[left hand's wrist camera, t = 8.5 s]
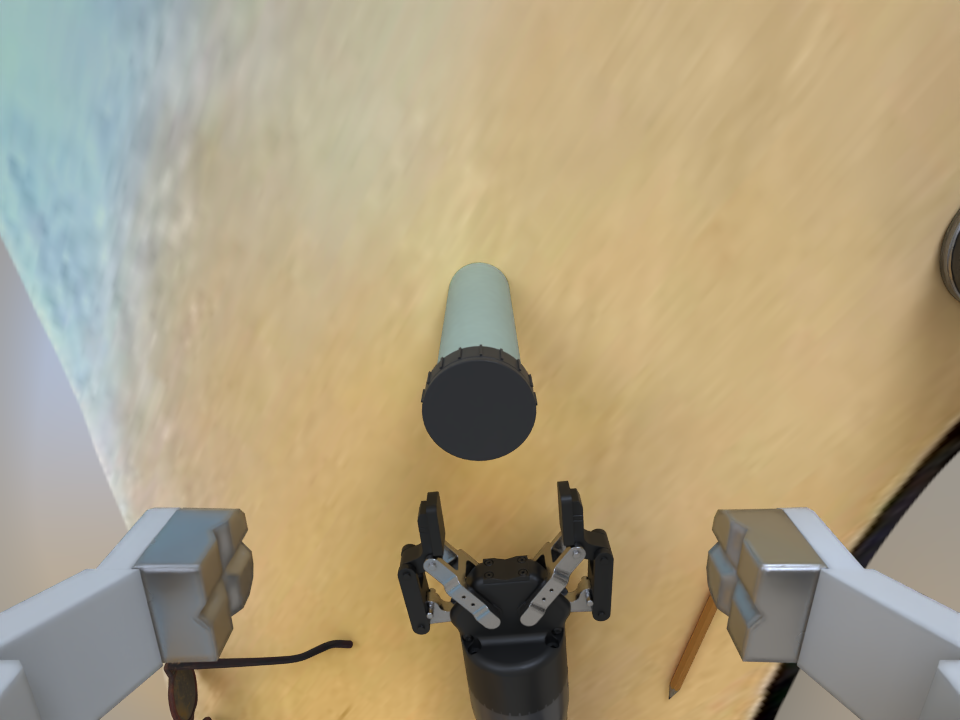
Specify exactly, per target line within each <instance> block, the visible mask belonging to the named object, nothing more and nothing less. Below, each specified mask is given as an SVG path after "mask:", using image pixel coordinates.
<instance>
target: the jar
mask: <svg viewBox="0 0 960 720" xmlns="http://www.w3.org/2000/svg"><path fill="white" fill-rule="evenodd" d="M480 344H482V346H487V347H492V348H496V349H499V350H500V348H501V349H503V351H504V352H506V353H508V354H510V355H511V356H513V357H514V358H515V359H519V360H520V354H519V348H518V341H517V335H516V328H515V322H514V315H513V309H512V302H511V296H510V289H509V284H508V281H507V279H506V277H505V276H504V274H503V273H502V272H501V271H500V270H499V269H497V268H496V267H494V266H492V265H489V264H486V263H472V264H469V265H466V266H464V267H463V268H461V269H460V270H459V271H457V273H456V274H455V275H454V276H453V278H452V280H451V282H450V286H449V291H448V298H447V304H446V311H445V317H444V324H443V330H442V337H441V343H440V350H439V356H438V363H439V361H440V359H441V357H443V358H444V357H445V356H447V355H449V354H450V353H452V352H454V351H457V350H459V348H460V347H461V348H466V347H472V346H480ZM438 363H437V364H438ZM520 363H521V361H520Z"/></svg>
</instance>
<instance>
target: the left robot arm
mask: <svg viewBox="0 0 960 720" xmlns="http://www.w3.org/2000/svg"><path fill="white" fill-rule="evenodd" d="M247 531H248V527H247V523H246V518H245V513H243V512H242V511H241V510H240V509H222V508H152V509H149V510H147V511H146V512H145V513H144V514H143V515H142V516H141V518H140V519H139V520H138V521H137V522H136V523H135V524H134V526H133V527H132V528H131V529H130V530H129V531H128V532H127V534H126V535H125V536H124V537H123V538H122V539H121V541H120V542H119V543H118V544H117V545H116V546H115V547H114V549H113V550H112V551H111V552H110V553H109V554H108V556H107V557H106V558H105V559H104V560H103V561H102V562H101V564H100V565H99V566H98V567H97V568H96V569H86V570H83V571H81V572H80V573H78V574H76V575H74V576H72V577H70V578H68V579H66V580H64V581H62V582H60V583H58V584H56V585H54V586H52V587H50V588H48V589H46V590H44V591H42V592H40V593H38V594H36V595H34V596H32V597H30V598H29V599H27V600H24V601H22V602H21V603H19V604H17V605H15V606H13V607H11V608H9V609H7V610H5V611H3V612H1V613H0V720H99V719H101V718H102V717H103V716H104V715H105V714H107V713H108V712H109V711H110V710H111V709H112V708H114V707H115V706H116V705H117V704H118V703H120V702H121V701H122V700H123V699H124V698H125V697H126V696H128V695H129V694H130V693H131V692H133V691H134V690H135V689H136V688H137V687H138V686H140V685H141V684H142V683H143V682H144V681H145V680H147V679H148V678H149V677H150V676H151V675H153V674H154V673H155V672H156V671H157V670H158V669H160V668H161V667H162V666H163V664H162V663H177V662H211V661H218V659H219V657H220V654H221V652H222V650H223V648H224V646H225V644H226V642H227V640H228V638H229V636H230V634H231V632H232V630H233V624H232V618H231V616H233V615H234V614H236V613H237V612H238V611H240V610H241V609H243V608H244V605H245V603H246V601H247V599H248V597H249V594H250V590H251V585H252V581H253V558H252V551H251V550H250V549H249V548H248V547H247V546H246V545H245V544H244V543H243V542H242V540H243V538H244V536H245V534H246V533H247ZM712 531H713V533H714V534H715V536H716V538H717V540H718V542H717V543H716V544H715V545H714V546H713V547H712V548H711V549H710V550H709V551H708V559H707V567H706V569H707V581H708V587H709V590H710V594H711V597H712V599H713V601H714V603H715V605H716V608H717V609H719V610H720V611H722V612H723V613H724V614H726V615H727V616H729V618H728V624H727V630H728V632H729V634H730V636H731V638H732V640H733V642H734V644H735V646H736V648H737V650H738V652H739V654H740V656H741V658H742V660H743V661H747V662H783V663H797V666H798V667H799V668H801V669H802V670H803V671H804V672H805V673H807V674H808V675H809V676H810V677H811V678H812V679H814V680H815V681H816V682H817V683H818V684H819V685H821V686H822V687H823V688H824V689H825V690H827V691H828V692H829V693H830V694H831V695H832V696H834V697H835V698H836V699H837V700H838V701H839V702H841V703H842V704H843V705H844V706H845V707H847V708H848V709H849V710H850V711H851V712H852V713H854V714H855V715H856V716H857V717H858V718H860V719H861V720H960V613H959V612H957V611H955V610H953V609H951V608H949V607H947V606H945V605H943V604H941V603H939V602H937V601H935V600H933V599H931V598H929V597H928V596H926V595H924V594H922V593H920V592H918V591H916V590H914V589H912V588H910V587H908V586H906V585H904V584H902V583H900V582H898V581H896V580H894V579H892V578H890V577H888V576H886V575H884V574H882V573H880V572H878V571H877V570H875V569H864V568H863V567H862V566H861V565H860V564H859V562H858V561H857V560H856V559H855V558H854V557H853V556H852V554H851V553H850V552H849V551H848V550H847V549H846V548H845V546H844V545H843V544H842V543H841V542H840V541H839V539H838V538H837V537H836V536H835V535H834V534H833V533H832V531H831V530H830V529H829V528H828V527H827V526H826V524H825V523H824V522H823V521H822V520H821V519H820V518H819V516H818V515H817V514H816V513H815V512H814V511H813V510H811V509H809V508H807V507H796V508H777V509H728V510H718V511H717V513H716V515H715V517H714V522H713V527H712Z"/></svg>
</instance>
